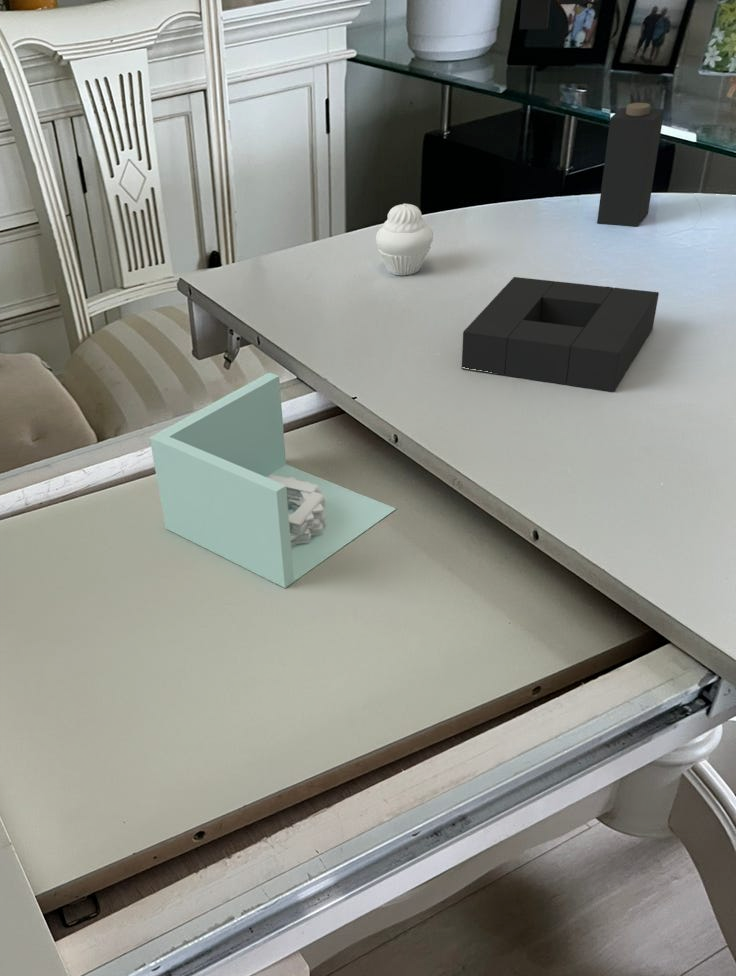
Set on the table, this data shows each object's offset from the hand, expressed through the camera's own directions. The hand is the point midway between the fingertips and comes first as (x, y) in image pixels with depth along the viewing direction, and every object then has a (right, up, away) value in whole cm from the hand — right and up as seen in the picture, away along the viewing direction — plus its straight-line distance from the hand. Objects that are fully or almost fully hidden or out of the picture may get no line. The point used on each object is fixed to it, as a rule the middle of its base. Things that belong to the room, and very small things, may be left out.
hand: (553, 16), depth 104 cm
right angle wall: (-29, -57, -31) cm, 71 cm away
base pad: (-4, -39, -14) cm, 42 cm away
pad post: (+11, -17, +10) cm, 23 cm away
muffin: (-15, -25, +4) cm, 30 cm away
